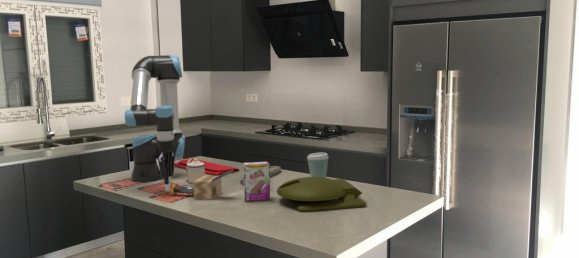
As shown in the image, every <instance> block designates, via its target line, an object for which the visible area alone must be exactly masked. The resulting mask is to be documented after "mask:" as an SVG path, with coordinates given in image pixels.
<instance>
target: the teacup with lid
mask: <svg viewBox="0 0 579 258" xmlns="http://www.w3.org/2000/svg"><path fill="white" fill-rule="evenodd" d="M198 160H199V159H197V158H194V161H192V162H191V163H188V164H187V167H186V169H185V173H186V175H187V183H190V184H193V181H195V180H197V179H199V178H201V177H203V176H205V175H206V174H205V167H204V166H205V164H204V163H203V162H200V161H198Z"/></svg>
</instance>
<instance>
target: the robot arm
mask: <svg viewBox="0 0 579 258" xmlns="http://www.w3.org/2000/svg"><path fill="white" fill-rule="evenodd" d="M180 78H183V72H182V67H181V61H180V57H179V56H177V55H173V54H172V55H170V54H168V55H165V54H164V55H147V56H144V57H142V58H140V59H139V60H138V61H137V62H136V63H135V65H134V66H133V68H132V71H131V79H132V89H131V99H130V108H129V109H127V110H125V112H124V122H125V125H126V126H129V127H138V126H139V127H140V126H141V127H142V126H156V134H155V133H148V134H142V135H138V136H135V137H134V138H133V139H132V150H133V152H132V154H133V155H132V156H133V168H132V172H131V176H130V178H131V179H130V181H132V182H135V183H136V182H138V183H145V182H146V183H147V182H153V181H154V182H155V181H158V180H160V179H162V178H163V179H164V191H165V192H170V187H171V185H172V184H173V183H172V177H173V176H174V173H175V167H174V163H176V162H175V161H176V158H182V157H183V156H184V154H185V153H184V152H185V145H186V143H185V142H186V136H185V135H183V131H182V130H181V129H180V122H179V120H180V119H179V98H178V83H179V82H180V81H181V79H180ZM151 79H156V81H157V83H158V84H159V85H160V103H161V105H158V106H156V107H155V108H148V99H149V98H148V97H149V83H150V80H151Z"/></svg>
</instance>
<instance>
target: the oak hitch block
mask: <svg viewBox="0 0 579 258" xmlns="http://www.w3.org/2000/svg"><path fill="white" fill-rule="evenodd" d="M215 177H217V176H215V175H210V174H205V176H203V177H201V178H199V179H197V180H195V181H193V183H192V184H193V187H194V193H193V197H194V198H193V199H194V200H205V201H206V200H208V201H209V200H210V201H211V200H213V199H215V198H216V197H217V196H220V195H221V194H222V193H223V192H222V189H223V188H222V177H221V178H219V179H216V180H214V181H212V179H213V178H215Z"/></svg>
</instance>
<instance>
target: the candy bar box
mask: <svg viewBox="0 0 579 258" xmlns="http://www.w3.org/2000/svg"><path fill="white" fill-rule="evenodd" d="M242 164H243V165H242V168H243V172H242V173H243V176H242V177H244V185H243V199H244V202H246V203H247V202H258V201H259V202H260V201H270V200H271V185H270V184H271V181H270V179H271V177H270V166H271V165H270V162H268V161H258V162H257V161H256V162H254V161H253V162H243V163H242Z"/></svg>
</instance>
